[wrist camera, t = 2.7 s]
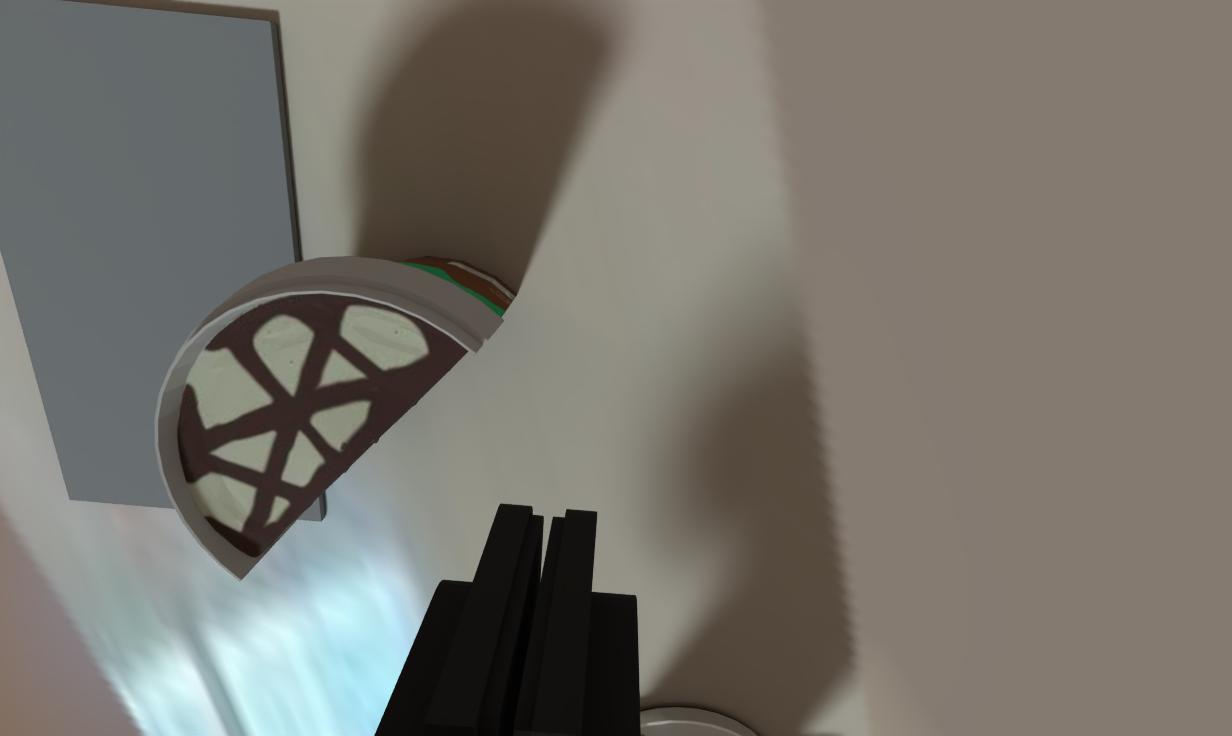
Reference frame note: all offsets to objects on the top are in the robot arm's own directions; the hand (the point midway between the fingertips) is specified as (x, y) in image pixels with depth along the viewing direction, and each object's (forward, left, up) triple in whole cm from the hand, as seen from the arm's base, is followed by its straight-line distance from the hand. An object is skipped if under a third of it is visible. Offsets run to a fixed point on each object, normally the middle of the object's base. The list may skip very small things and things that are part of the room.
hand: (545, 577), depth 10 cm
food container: (+9, +1, -17) cm, 19 cm away
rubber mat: (+19, +1, -17) cm, 25 cm away
